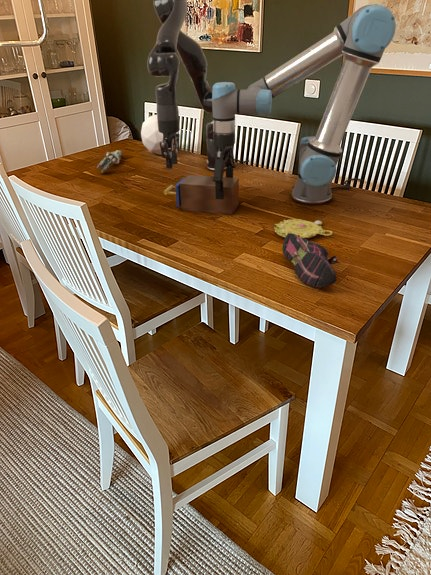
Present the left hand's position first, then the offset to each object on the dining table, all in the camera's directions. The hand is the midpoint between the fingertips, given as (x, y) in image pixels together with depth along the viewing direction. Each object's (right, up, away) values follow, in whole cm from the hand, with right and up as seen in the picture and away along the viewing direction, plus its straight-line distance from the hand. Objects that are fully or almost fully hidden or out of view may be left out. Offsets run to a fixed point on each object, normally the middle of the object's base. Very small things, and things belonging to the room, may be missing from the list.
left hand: (172, 165), depth 162 cm
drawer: (+9, -13, +5) cm, 16 cm away
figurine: (-35, +15, +52) cm, 65 cm away
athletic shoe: (+44, -40, -37) cm, 70 cm away
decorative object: (+44, -27, -16) cm, 54 cm away
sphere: (-12, +25, +68) cm, 74 cm away
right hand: (+19, -10, 0) cm, 22 cm away
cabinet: (+14, -14, +4) cm, 21 cm away
